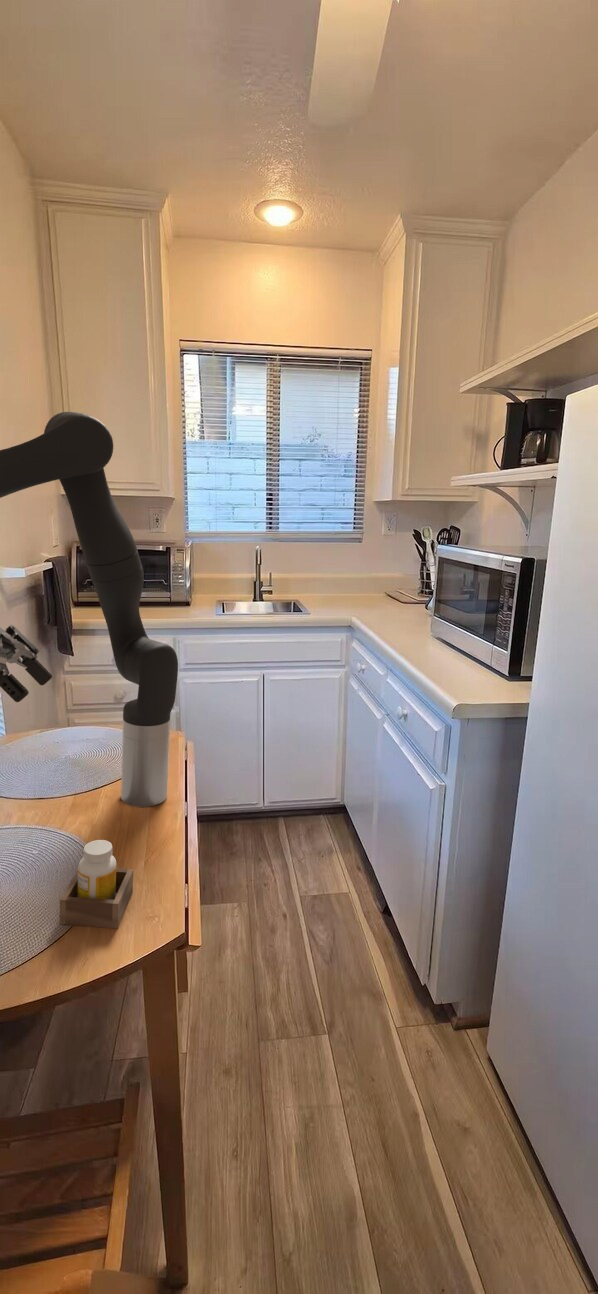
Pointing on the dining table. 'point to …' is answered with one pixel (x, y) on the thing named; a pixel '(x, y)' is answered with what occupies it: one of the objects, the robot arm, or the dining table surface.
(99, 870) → the supplement bottle
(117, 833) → the dining table surface
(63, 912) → the holder
